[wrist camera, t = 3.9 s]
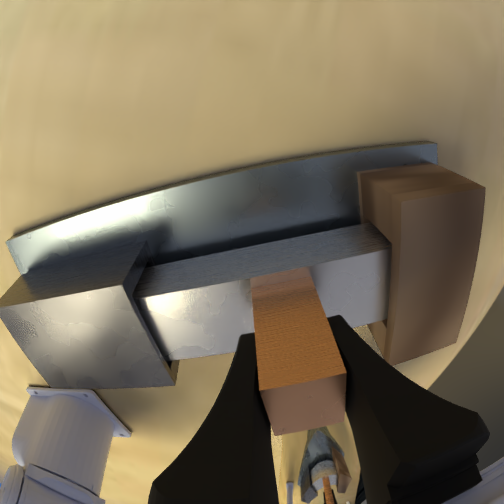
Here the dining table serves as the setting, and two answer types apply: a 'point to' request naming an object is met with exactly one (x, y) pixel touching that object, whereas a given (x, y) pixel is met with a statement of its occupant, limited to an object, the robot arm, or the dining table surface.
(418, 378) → the dining table surface
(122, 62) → the dining table surface
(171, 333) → the grey slider with handle
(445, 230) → the socket block
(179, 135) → the dining table surface
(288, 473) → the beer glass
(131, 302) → the outer sleeve
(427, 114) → the dining table surface
